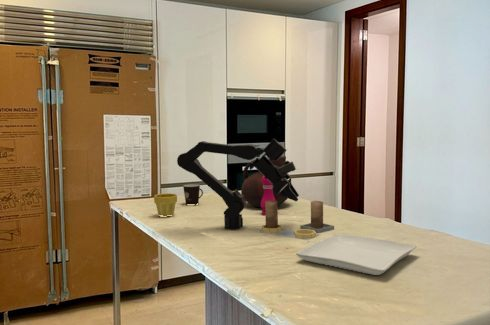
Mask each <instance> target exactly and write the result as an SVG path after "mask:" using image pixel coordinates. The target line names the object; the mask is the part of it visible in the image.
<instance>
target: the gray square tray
mask: <svg viewBox="0 0 490 325" xmlns="http://www.w3.org/2000/svg"><path fill="white" fill-rule="evenodd" d="M299 229H309V230H314V231H315V232H316V234H321V233H325V232H329V231H333V230H335V225H332V224H329V223H324V222H323V228H320V229H315V228H311V222H309V223H305V224H301V225H300V226H299Z"/></svg>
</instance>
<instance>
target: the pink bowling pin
mask: <svg viewBox="0 0 490 325" xmlns="http://www.w3.org/2000/svg"><path fill="white" fill-rule="evenodd" d="M262 183H263V184H264V185H263V188H264V195H263V198H262V200H261V207H260V208H261V209H262V210H261V215H263V216H265V201H270V200H274V201H276V200H275V198H274V195H273V186H272V185H273V184H272V183H271V182H270V181H269V180H268V179H265V178H264V176H263V177H262Z"/></svg>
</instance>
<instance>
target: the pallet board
mask: <svg viewBox="0 0 490 325" xmlns="http://www.w3.org/2000/svg"><path fill="white" fill-rule="evenodd" d="M256 232H258V233H264V234H267V235H268V234H269V235H273V236H274V235H275V236H281V237H286V238H291V239H295V240H296V239H297V240H303V241H308V243H309V242H311V241H310V240H312V239H315V238H317V237H319V236H320V233H316V232H315V231H314V230H309V229H300V228H299V229H296V230H294V229H287V228H283V226H282V225H281V224H278V228H266V224H263V225H261V229H259V230H256Z"/></svg>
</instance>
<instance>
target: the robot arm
mask: <svg viewBox="0 0 490 325" xmlns="http://www.w3.org/2000/svg"><path fill="white" fill-rule="evenodd" d="M287 150H288V149H286V147H284V145H283V144H282V143H280V142H279V141H278V140H276V139H275V138H272V139H271V141H270V142H269V143H268V144H267V145H266V146H265V147H264V148H263V147H257V146H256V145H255V144H252V143H248V144H247V143H246V144H235V145H234V144H226V143H218V142H209V141H203V140H202V141H198V142H197V143H196V145H194V146H193V147H192V148H190V149H189V150H188V151H186V152H184V153H181V154H179V155H178V157H177V159H176V162H177V165H178V167H180V168H182V170H184V171H187V172H189V173H190V174H192V175H194V176H196V177H197V178H198V179H199V180H201V181H202V182H203V183H204V184H205V185H207V187H209V188H210V190H212V191H213V192H215V193H216V194H217V195H218V196H219V197H220V198H221V199H222V200H223V201H224V203H225V205H226V206H227V208H226V209H225V210H224V211H223V214H224V220H223V221H224V222H223V223H224V229H225V230H228V231H231V230H233V231H235V230H240V229H241V228H243V227H244V218H243V214H242V213H241V212H242V211H244V209H245V207H246V205H247V202H246V199H245V198H244V195H242V194H241V192H240V191H239V190H238V189H237V188H236V189H235V190H234V191H233V190H231V189H229V188H228V187H227V186H226V185H225V184H224V183H222V182H221V181H220V180H219V179H217V178H216V177H215V176H214V175H213V174H212V173H210V172H209V171H208V170H207V169H206V168H205V167H203V165H202V164H201V162H200V160H199V157H201V155H203V154H204V153H213V154H221V155H228V156H229V155H230V156H235V157H236V158H240V159H244V160H247V161H249V162H248V164H249V165H250V167H249V170H250V171H251V170H253V169H254V168H255V169H256V170H257V171H258V172H260V173H261V174H262V175H263V176H264V178H265V179H268V180H269V181H270V182H271V183H272V184H273V185H272V186H273V192H274V193H275V194H277V193H278V192H279V191H280V192H279V193H278V195H281V196H283V197H286V198H288V199H289V200H291V201H294V202H298V201H299V198H298V197H300V195H299V192H297V190H296V188H295V187H294V185H293V184H292V177H291V175H290V174H289V173H291V172H295V171H296V170H297V168H296V166H295V164H294V162H293V161H289V160H286V162H284V166H282V167H280V168H279V167H278V166H275V165H274V164H273V163H272V162H271V161H269V160H268V159H270V160H272V161H273V160H276V161H277V160H278V159H279V158H280V157H282V156H284V154H285V153H286V152H287ZM262 154H263V155H262ZM261 155H262V156H261ZM258 156H261V157H260V158H259V157H258ZM253 160H254V161H253ZM251 161H253V162H251Z"/></svg>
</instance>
